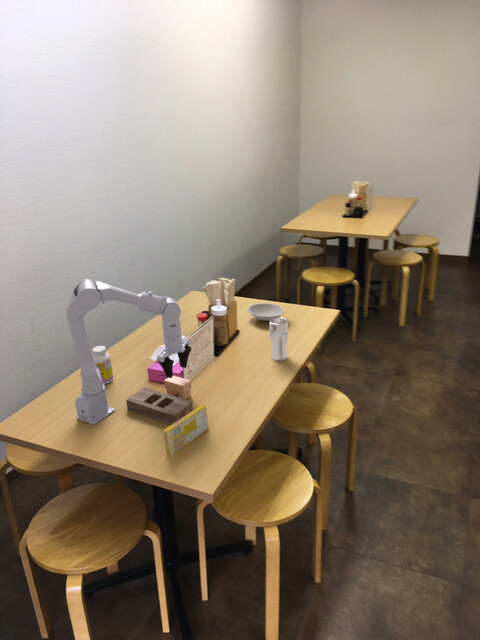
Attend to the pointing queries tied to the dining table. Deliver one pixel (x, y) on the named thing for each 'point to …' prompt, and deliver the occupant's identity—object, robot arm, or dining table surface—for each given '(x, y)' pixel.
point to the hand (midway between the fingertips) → (176, 372)
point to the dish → (265, 311)
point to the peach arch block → (178, 387)
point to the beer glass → (278, 338)
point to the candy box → (185, 430)
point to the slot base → (159, 405)
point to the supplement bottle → (103, 363)
